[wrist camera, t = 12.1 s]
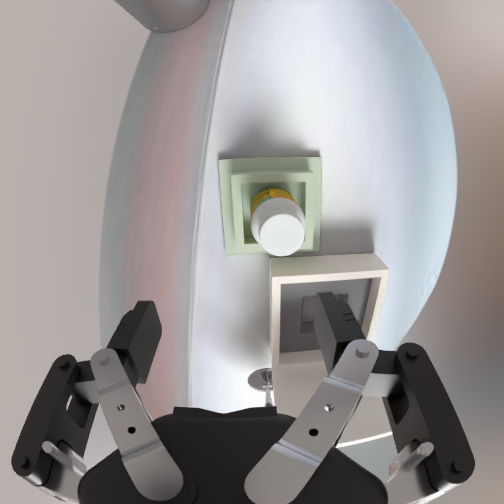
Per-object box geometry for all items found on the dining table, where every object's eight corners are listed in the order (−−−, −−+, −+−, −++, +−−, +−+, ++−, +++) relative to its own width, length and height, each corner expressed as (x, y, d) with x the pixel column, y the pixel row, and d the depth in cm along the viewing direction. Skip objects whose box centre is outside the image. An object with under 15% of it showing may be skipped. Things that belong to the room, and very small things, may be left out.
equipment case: (269, 258, 36) (286, 369, 19) (374, 252, 36) (447, 341, 19) (270, 352, 43) (279, 455, 26) (356, 343, 43) (392, 434, 26)
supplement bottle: (280, 235, 34) (291, 273, 25) (241, 215, 33) (239, 247, 24) (303, 198, 32) (323, 225, 23) (264, 176, 31) (271, 194, 22)
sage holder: (219, 159, 31) (215, 162, 28) (320, 156, 31) (328, 159, 28) (226, 253, 36) (224, 264, 33) (317, 248, 36) (324, 259, 33)
